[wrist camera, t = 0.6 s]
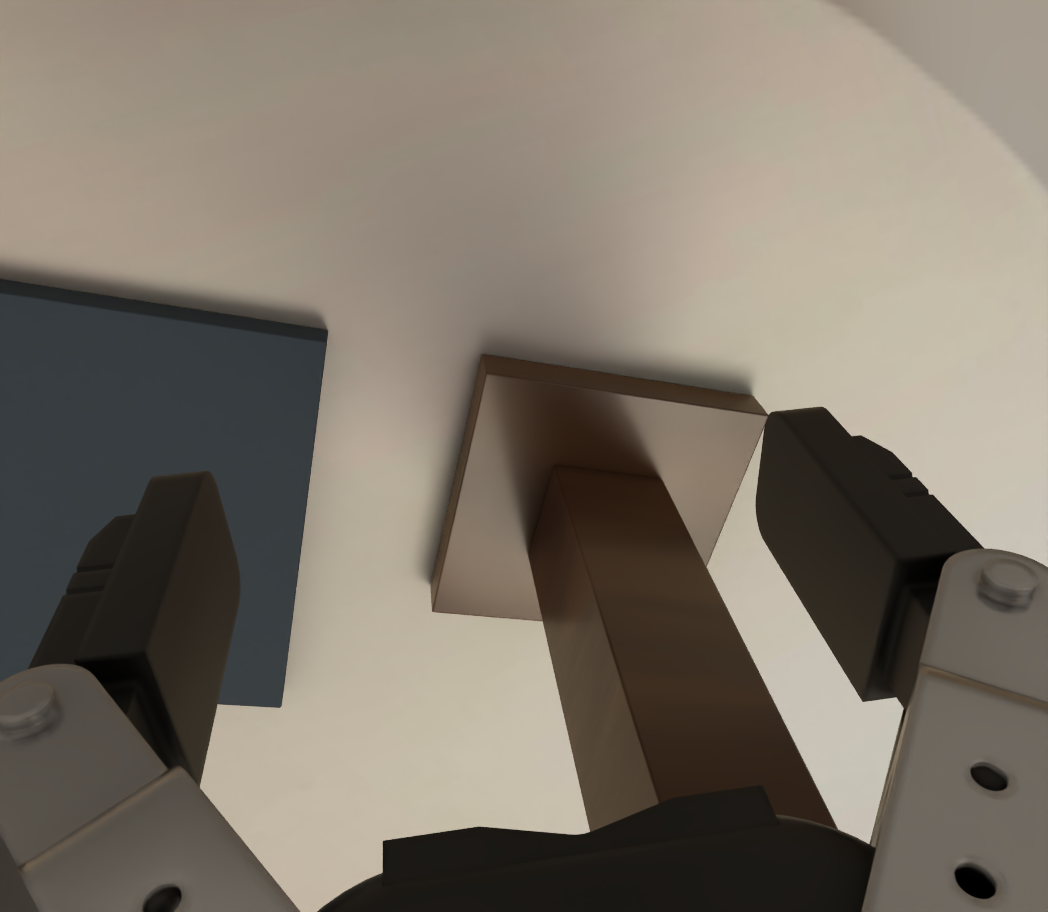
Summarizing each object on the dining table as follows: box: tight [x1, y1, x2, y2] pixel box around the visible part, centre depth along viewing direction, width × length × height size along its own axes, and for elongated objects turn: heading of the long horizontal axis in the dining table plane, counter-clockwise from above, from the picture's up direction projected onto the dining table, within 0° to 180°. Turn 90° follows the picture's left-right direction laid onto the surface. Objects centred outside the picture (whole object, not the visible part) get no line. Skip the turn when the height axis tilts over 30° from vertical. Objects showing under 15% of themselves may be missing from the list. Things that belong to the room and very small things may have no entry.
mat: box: [0, 279, 328, 708], centre depth 29 cm, size 16×16×1 cm
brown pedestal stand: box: [431, 354, 838, 832], centre depth 19 cm, size 10×10×32 cm
